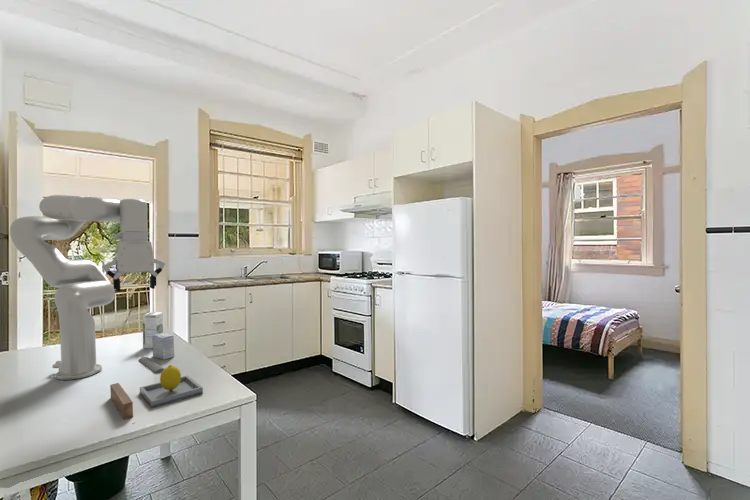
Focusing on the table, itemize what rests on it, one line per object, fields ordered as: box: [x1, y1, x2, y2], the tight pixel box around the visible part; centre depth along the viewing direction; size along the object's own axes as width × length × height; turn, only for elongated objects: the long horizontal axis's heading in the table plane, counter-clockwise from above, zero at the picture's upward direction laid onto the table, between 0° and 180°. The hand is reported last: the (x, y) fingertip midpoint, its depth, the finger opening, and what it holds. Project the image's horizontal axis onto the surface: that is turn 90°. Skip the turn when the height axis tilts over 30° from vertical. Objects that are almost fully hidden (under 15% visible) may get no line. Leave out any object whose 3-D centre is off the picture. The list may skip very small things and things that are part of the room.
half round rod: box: [137, 356, 165, 374], centre depth 137 cm, size 4×20×2 cm, turn 47°
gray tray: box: [139, 375, 204, 409], centre depth 113 cm, size 14×14×2 cm
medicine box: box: [152, 332, 175, 360], centre depth 147 cm, size 8×4×9 cm, turn 58°
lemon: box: [159, 364, 182, 391], centre depth 113 cm, size 6×6×8 cm
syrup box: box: [142, 311, 164, 349], centre depth 161 cm, size 6×6×14 cm
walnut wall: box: [110, 382, 134, 420], centre depth 104 cm, size 2×18×4 cm, turn 44°
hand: (135, 289), depth 122 cm, fingers open, 9 cm apart
